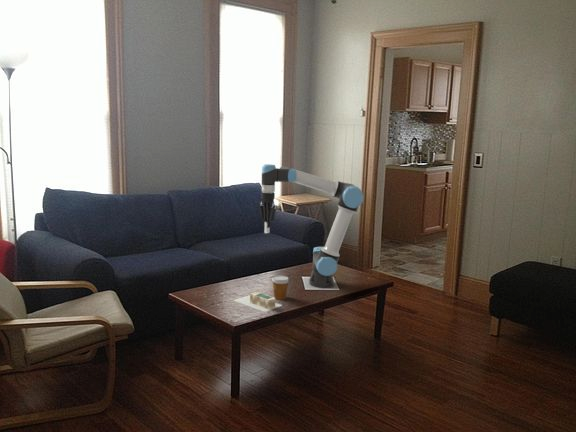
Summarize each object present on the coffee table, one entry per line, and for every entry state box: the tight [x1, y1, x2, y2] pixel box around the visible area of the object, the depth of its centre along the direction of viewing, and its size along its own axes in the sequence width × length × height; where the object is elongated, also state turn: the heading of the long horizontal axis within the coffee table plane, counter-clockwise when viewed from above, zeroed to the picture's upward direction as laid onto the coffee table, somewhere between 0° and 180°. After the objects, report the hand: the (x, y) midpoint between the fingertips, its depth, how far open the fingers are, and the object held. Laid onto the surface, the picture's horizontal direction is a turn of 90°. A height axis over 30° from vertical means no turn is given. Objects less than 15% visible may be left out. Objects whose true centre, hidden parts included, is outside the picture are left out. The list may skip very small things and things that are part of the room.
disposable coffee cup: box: [271, 275, 290, 301], centre depth 295 cm, size 10×10×12 cm
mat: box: [233, 294, 283, 313], centre depth 287 cm, size 24×14×1 cm, turn 49°
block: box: [249, 291, 276, 310], centre depth 284 cm, size 5×5×14 cm
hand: (266, 232), depth 303 cm, fingers closed
